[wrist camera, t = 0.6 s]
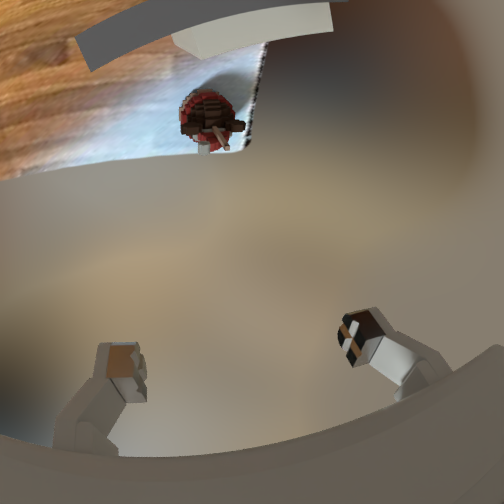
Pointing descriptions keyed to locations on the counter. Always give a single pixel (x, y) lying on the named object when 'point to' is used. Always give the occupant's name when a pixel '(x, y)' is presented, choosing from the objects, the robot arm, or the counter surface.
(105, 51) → the gray rectangular bar
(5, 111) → the counter surface
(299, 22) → the step stand
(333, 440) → the robot arm
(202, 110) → the cake
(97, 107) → the counter surface
